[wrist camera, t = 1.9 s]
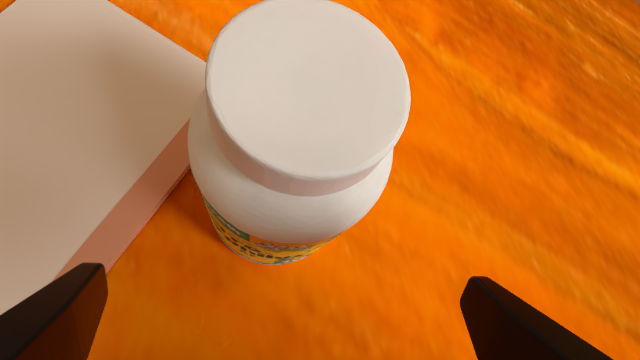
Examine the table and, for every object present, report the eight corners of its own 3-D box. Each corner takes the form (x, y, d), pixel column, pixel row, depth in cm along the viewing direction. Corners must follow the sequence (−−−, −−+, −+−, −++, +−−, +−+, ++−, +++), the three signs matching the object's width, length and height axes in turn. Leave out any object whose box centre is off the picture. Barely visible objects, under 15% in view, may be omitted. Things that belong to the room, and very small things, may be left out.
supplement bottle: (353, 179, 23) (478, 46, 11) (302, 289, 20) (394, 275, 8) (247, 125, 22) (256, -75, 10) (182, 230, 20) (96, 124, 8)
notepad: (-56, 478, 15) (-68, 485, 15) (-346, 301, 15) (-370, 301, 14) (248, 94, 23) (249, 89, 22) (61, -24, 23) (56, -32, 22)
